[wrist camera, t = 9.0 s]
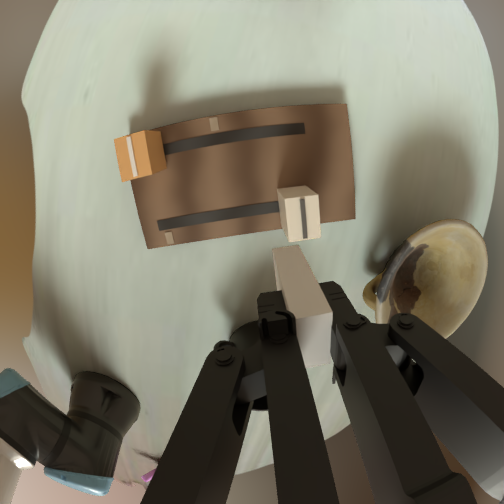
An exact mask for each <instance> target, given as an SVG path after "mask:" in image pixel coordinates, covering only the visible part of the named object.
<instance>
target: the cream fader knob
mask: <svg viewBox="0 0 504 504" xmlns="http://www.w3.org/2000/svg"><path fill="white" fill-rule="evenodd" d="M277 193H278V201H279V210H280V218H281V226H282V228H283V230H284V232H285V235H286V237H287V239H288V241H289V242H294V241H301V240H308V239H315V238H321V228H320V212H319V198H318V194H317V193H315V192H314V191H312V190H311V189H310V188H308V187H307V186H306V185H305V186H296V187H288V188H280V189H277Z"/></svg>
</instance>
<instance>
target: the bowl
mask: <svg viewBox="0 0 504 504" xmlns="http://www.w3.org/2000/svg"><path fill="white" fill-rule="evenodd" d="M487 266H488V257H487V250H486V245H485V242H484V240H483V238H482V236H481V235H480V233H479V232H478V231H477V230H476V229H475V228H474V226H473V225H471V224H470V223H468V222H466V221H463V220H457V219H445V220H440V221H437V222H434V223H432V224H429V225H427V226H425V227H424V228H422V229H420V230H418V231H417V232H416V233H414V234H413V235H411V236H409V238H408V239H406V240H405V241H404V242H403V244H402V245H401V246H400V247H399V248H398V249H397V250H396V251H395V252H394V253H393V254H392V256H391V257H390V260H389V261H388V263H387V264H386V268H385V270H384V271H383V272H382V273H381V274H379V275H377V276H376V277H375V278H374V279H372V280H371V281H370V282H369V283H368V284H367V285H366V286H365V288H364V291H363V299H364V301H365V303H366V304H367V305H368V306H369V307H370V308H372V309H373V310H375V318H376V323H377V324H388V323H389V322H390V319H391V317H392V316H394V315H395V314H398V313H410V314H413V315H415V316H417V317H418V318H420V319H421V320H422V321H423V322H425V323H426V324H427V325H429V326H430V327H431V328H432V329H434V330H435V331H436V332H437V333H439V334H440V335H441V336H443V337H444V338H445V339H446V338H447V337H449V336H450V335H451V334H452V333H453V332H454V331H455V330H456V329H457V328H458V327H459V326H460V325H461V324H462V322H463V321H464V320H465V319H466V318H467V316H468V315H469V314H470V312H471V311H472V309H473V307H474V306H475V304H476V302H477V300H478V298H479V296H480V293H481V291H482V288H483V286H484V282H485V279H486V274H487ZM376 292H377V295H376V294H375V293H376Z"/></svg>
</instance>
